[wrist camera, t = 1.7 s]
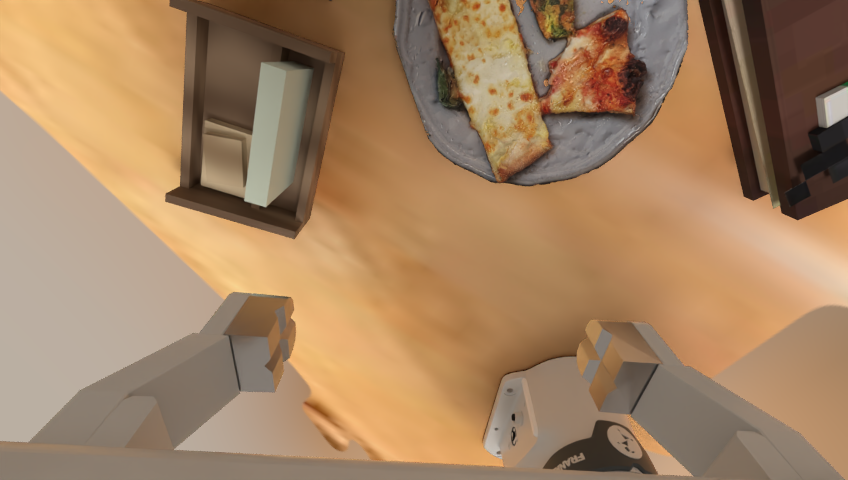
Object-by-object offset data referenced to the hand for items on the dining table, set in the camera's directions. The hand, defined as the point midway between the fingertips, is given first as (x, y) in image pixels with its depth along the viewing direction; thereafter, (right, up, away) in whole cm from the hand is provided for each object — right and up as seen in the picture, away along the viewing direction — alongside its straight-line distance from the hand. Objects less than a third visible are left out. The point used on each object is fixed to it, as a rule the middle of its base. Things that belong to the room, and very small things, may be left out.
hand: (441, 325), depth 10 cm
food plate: (+10, +20, +23) cm, 32 cm away
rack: (-16, +14, +26) cm, 33 cm away
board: (-13, +13, +25) cm, 31 cm away
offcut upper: (-19, +10, +25) cm, 33 cm away
